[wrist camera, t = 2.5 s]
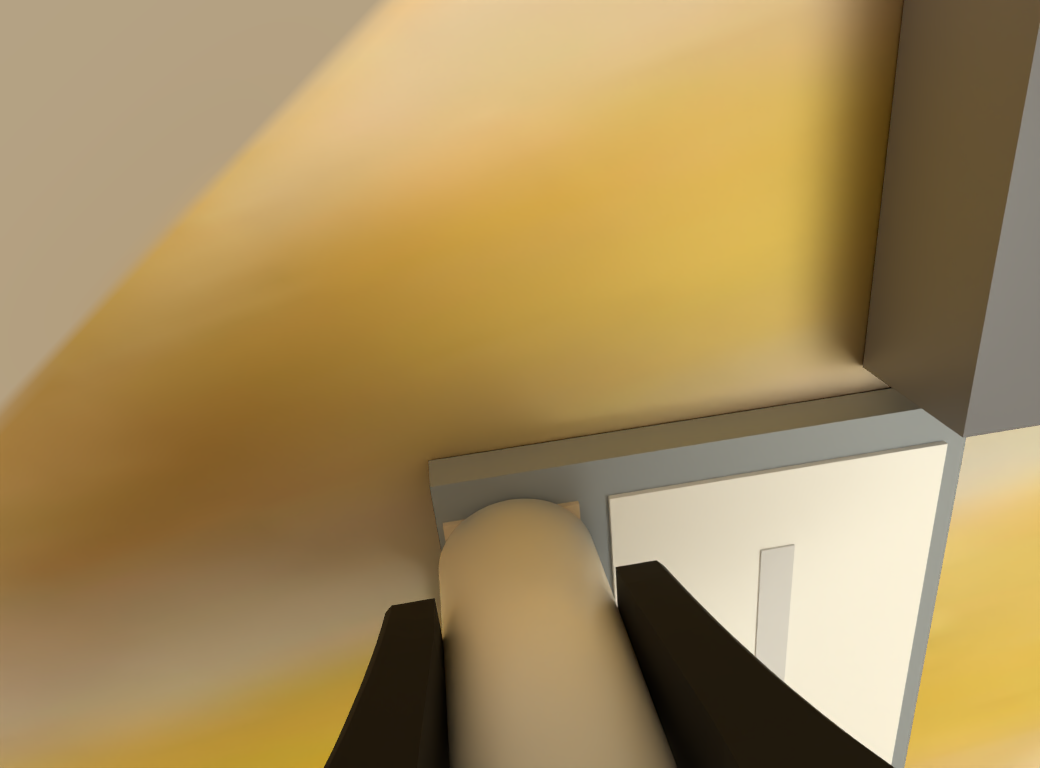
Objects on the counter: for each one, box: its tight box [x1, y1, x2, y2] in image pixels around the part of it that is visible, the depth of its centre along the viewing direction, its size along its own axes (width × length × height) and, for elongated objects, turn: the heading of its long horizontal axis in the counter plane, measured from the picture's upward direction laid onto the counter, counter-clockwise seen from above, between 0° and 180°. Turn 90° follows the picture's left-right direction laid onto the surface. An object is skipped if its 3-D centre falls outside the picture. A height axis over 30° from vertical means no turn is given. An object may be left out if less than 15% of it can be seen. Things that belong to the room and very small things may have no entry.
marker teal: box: [439, 499, 677, 768], centre depth 9 cm, size 3×3×7 cm
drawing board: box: [429, 388, 966, 768], centre depth 15 cm, size 9×12×1 cm
